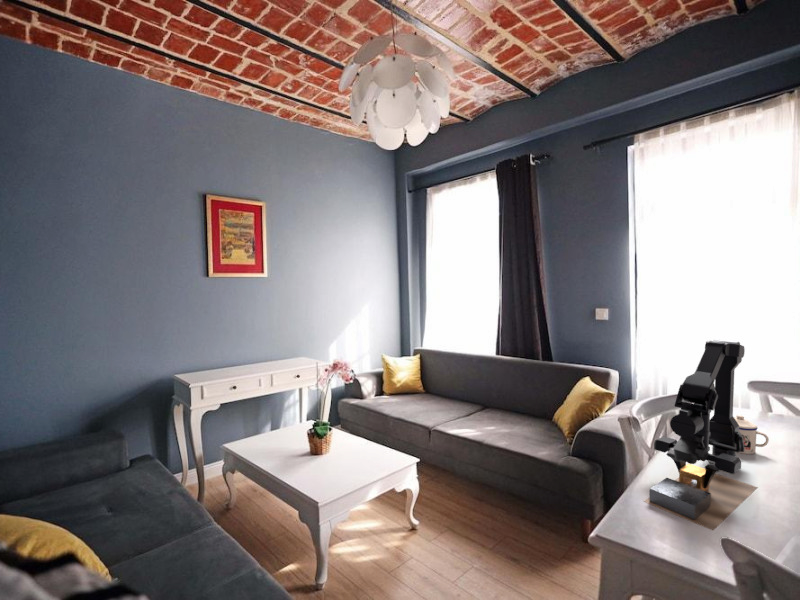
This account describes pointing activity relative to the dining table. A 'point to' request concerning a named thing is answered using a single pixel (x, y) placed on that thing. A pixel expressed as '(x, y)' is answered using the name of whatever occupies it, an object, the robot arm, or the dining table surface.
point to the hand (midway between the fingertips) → (694, 483)
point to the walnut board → (719, 500)
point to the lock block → (693, 475)
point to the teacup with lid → (749, 435)
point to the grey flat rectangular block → (680, 497)
